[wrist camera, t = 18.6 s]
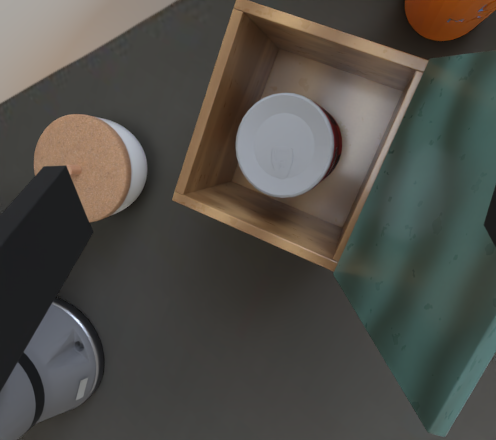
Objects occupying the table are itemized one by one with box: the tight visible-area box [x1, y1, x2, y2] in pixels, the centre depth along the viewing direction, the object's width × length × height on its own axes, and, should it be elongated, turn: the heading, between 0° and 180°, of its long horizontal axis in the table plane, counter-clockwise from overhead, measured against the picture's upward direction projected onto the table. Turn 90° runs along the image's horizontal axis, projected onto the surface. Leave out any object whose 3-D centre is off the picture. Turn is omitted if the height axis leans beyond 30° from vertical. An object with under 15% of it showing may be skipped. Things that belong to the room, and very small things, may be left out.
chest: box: [172, 0, 429, 272], centre depth 37 cm, size 14×16×13 cm
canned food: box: [236, 93, 342, 198], centre depth 38 cm, size 8×8×11 cm
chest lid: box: [333, 50, 496, 437], centre depth 22 cm, size 15×16×1 cm
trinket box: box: [34, 114, 147, 223], centre depth 46 cm, size 11×11×9 cm
